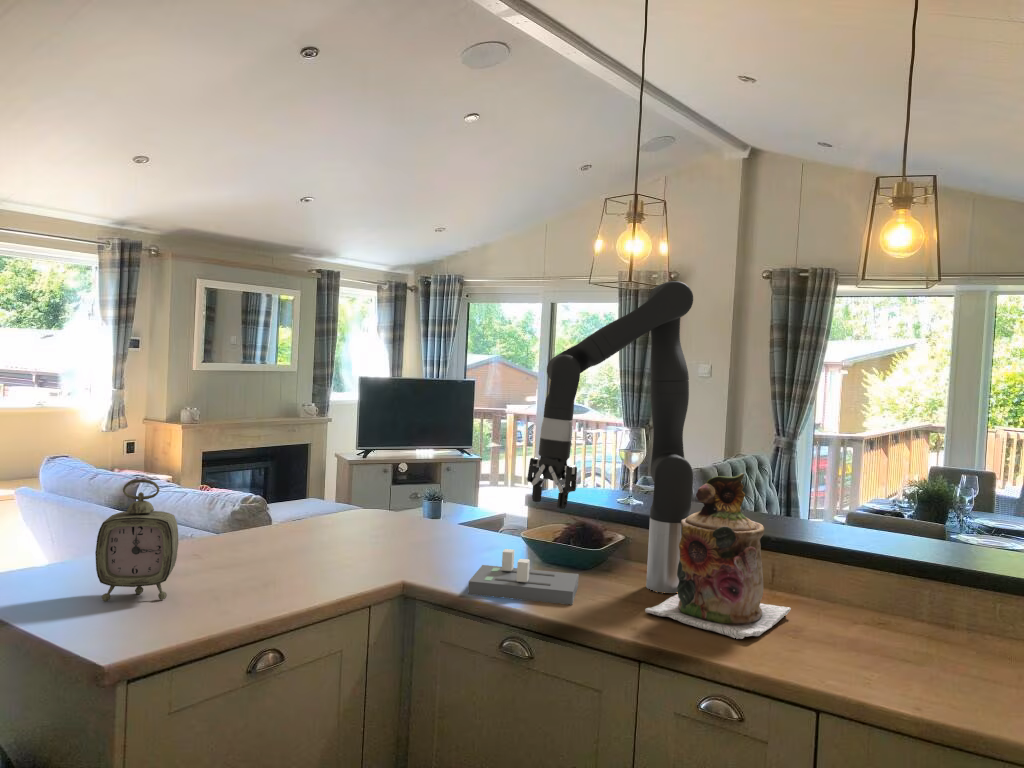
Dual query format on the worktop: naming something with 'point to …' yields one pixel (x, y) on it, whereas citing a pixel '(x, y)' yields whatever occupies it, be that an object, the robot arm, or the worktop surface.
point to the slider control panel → (524, 585)
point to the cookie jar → (721, 567)
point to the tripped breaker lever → (523, 570)
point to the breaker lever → (508, 560)
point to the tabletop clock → (137, 546)
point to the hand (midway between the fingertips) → (548, 504)
